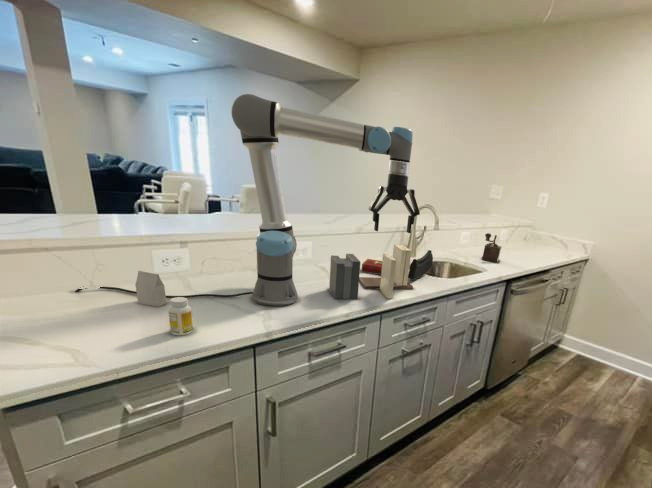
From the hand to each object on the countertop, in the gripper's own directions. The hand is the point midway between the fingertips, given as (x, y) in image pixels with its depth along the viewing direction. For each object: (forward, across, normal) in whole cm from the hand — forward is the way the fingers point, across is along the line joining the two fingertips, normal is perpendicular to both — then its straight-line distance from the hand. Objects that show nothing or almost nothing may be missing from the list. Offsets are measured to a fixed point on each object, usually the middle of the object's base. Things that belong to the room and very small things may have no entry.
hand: (392, 231), depth 151 cm
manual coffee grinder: (+27, +94, +67) cm, 118 cm away
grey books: (+26, -18, 0) cm, 32 cm away
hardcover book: (+26, +10, +33) cm, 43 cm away
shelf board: (+26, +4, +13) cm, 29 cm away
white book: (+26, 0, 0) cm, 26 cm away
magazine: (+26, +28, +29) cm, 48 cm away
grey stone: (+26, -81, -9) cm, 86 cm away
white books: (+25, +10, +13) cm, 30 cm away
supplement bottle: (+26, -70, -32) cm, 81 cm away
